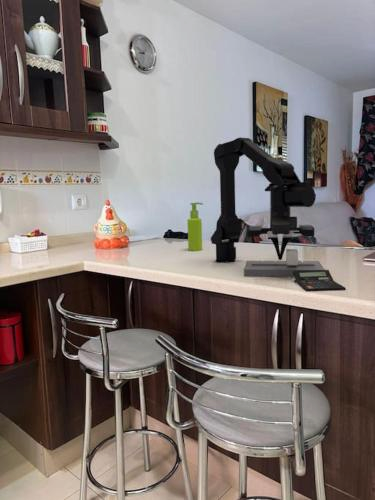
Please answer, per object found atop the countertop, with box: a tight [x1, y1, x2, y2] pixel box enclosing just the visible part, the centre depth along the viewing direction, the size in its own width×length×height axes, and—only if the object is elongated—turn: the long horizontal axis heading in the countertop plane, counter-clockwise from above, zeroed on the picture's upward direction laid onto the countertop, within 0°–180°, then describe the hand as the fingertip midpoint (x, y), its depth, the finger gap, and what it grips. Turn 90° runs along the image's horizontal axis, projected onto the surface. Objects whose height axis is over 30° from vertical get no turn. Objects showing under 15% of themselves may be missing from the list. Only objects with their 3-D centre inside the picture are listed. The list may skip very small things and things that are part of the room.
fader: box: [285, 247, 299, 265], centre depth 113 cm, size 3×6×4 cm, turn 168°
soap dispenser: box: [187, 202, 204, 252], centre depth 161 cm, size 6×7×20 cm
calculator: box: [293, 269, 347, 292], centre depth 97 cm, size 9×12×3 cm
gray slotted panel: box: [243, 260, 326, 278], centre depth 114 cm, size 22×14×2 cm, turn 78°
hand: (280, 259), depth 113 cm, fingers closed
